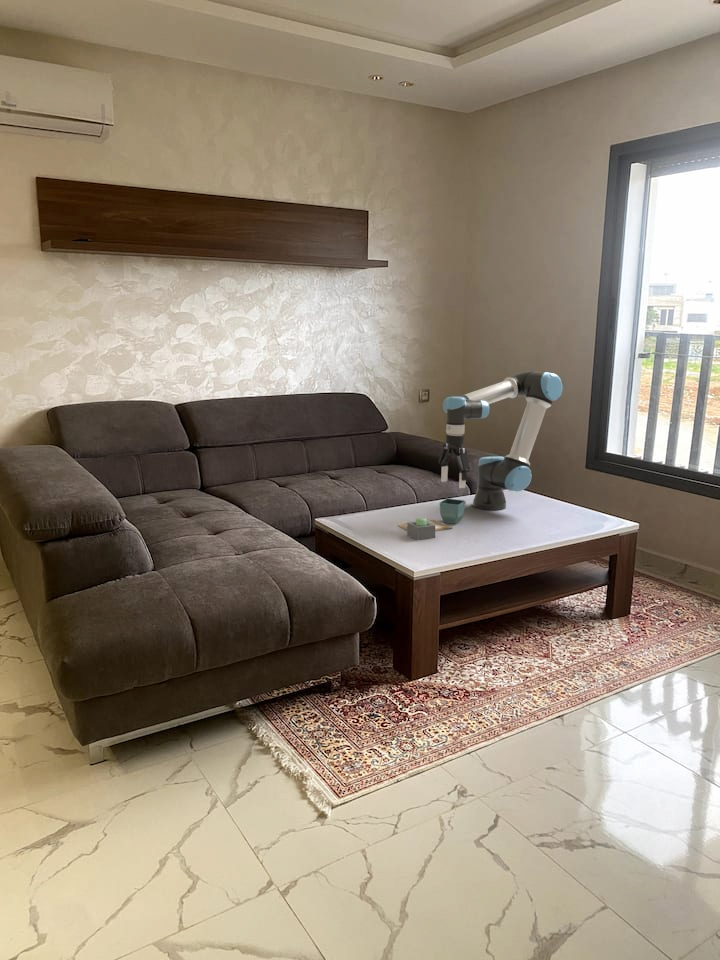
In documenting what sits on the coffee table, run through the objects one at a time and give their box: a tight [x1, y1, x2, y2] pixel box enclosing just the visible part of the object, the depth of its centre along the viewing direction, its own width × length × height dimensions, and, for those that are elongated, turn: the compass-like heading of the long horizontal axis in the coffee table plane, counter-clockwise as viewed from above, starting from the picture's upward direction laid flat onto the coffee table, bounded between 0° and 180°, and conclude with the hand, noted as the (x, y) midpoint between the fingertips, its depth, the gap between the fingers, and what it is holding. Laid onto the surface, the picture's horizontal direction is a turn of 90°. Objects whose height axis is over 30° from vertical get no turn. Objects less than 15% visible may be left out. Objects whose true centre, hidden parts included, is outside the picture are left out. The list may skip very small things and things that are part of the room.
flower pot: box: [439, 498, 466, 525], centre depth 318 cm, size 9×9×9 cm
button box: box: [406, 521, 436, 541], centre depth 297 cm, size 8×8×5 cm
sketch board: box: [397, 519, 452, 532], centre depth 310 cm, size 18×13×1 cm
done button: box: [415, 517, 428, 526], centre depth 296 cm, size 4×4×5 cm
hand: (453, 484), depth 315 cm, fingers open, 13 cm apart
